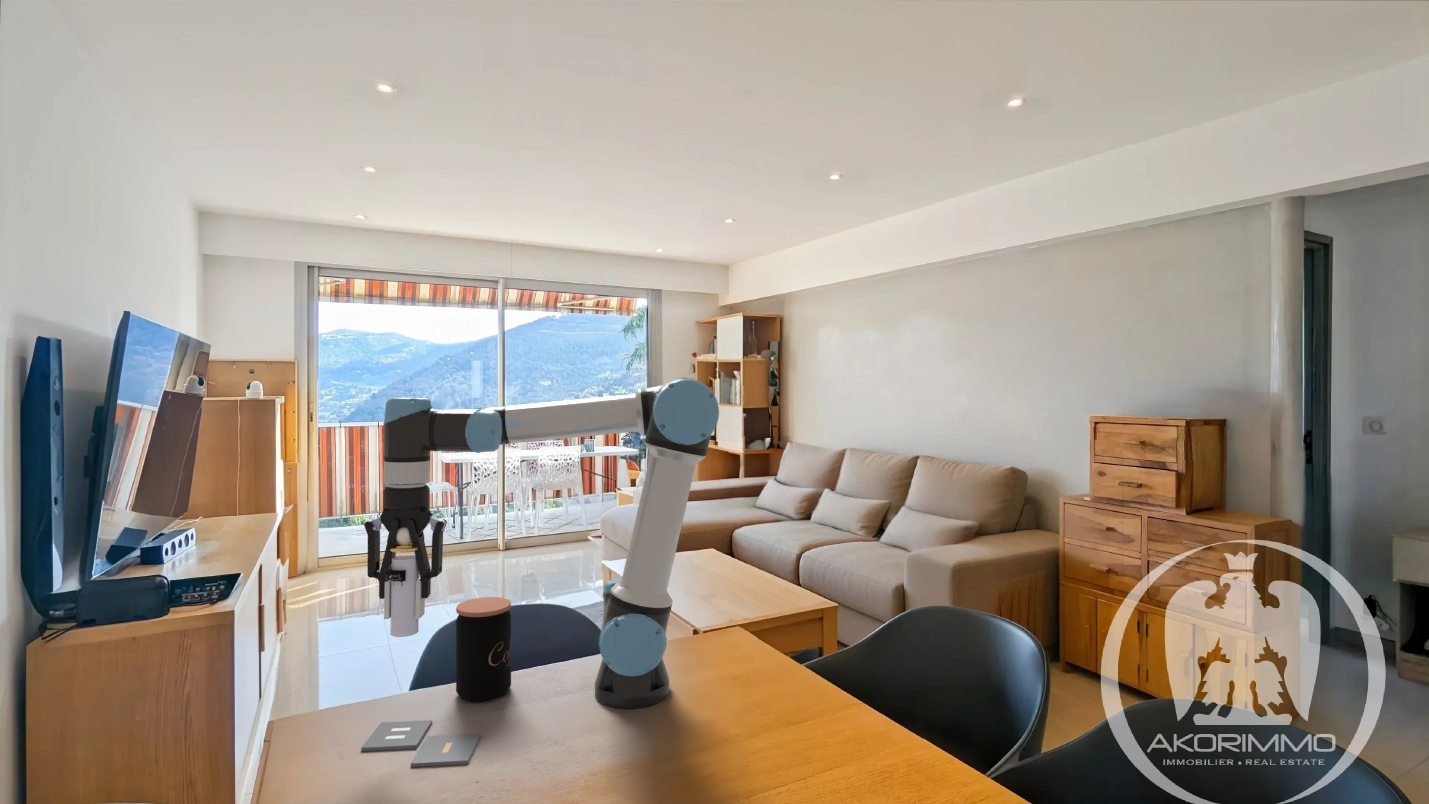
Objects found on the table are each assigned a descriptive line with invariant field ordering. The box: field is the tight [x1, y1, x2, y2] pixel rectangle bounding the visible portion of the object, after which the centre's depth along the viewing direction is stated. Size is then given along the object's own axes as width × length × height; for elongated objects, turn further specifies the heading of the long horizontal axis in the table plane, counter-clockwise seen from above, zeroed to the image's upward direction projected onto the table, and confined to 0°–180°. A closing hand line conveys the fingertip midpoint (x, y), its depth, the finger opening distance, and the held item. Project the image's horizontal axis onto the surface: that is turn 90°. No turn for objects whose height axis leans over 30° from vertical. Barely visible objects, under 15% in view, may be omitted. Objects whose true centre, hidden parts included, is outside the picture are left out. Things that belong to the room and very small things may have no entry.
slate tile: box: [410, 732, 482, 768], centre depth 116 cm, size 9×9×1 cm
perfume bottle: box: [387, 528, 420, 638], centre depth 121 cm, size 6×6×20 cm
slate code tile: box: [360, 719, 433, 752], centre depth 121 cm, size 9×9×1 cm
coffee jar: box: [455, 596, 512, 704], centre depth 139 cm, size 11×11×18 cm
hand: (404, 616), depth 121 cm, fingers closed on perfume bottle, 4 cm apart
